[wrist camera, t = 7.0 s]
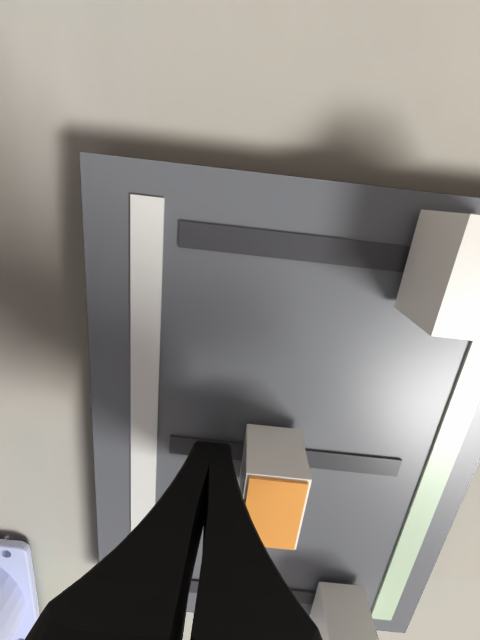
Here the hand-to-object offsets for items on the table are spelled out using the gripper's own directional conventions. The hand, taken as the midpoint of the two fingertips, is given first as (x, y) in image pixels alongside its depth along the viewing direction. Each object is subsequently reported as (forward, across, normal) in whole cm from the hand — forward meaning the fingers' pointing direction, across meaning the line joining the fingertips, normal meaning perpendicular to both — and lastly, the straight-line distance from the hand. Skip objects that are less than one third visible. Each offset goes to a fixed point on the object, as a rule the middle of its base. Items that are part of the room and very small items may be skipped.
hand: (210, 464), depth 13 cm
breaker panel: (+2, -3, 0) cm, 4 cm away
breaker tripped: (+1, -2, 0) cm, 2 cm away
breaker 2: (+1, -6, -8) cm, 10 cm away
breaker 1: (+1, -6, +8) cm, 10 cm away
